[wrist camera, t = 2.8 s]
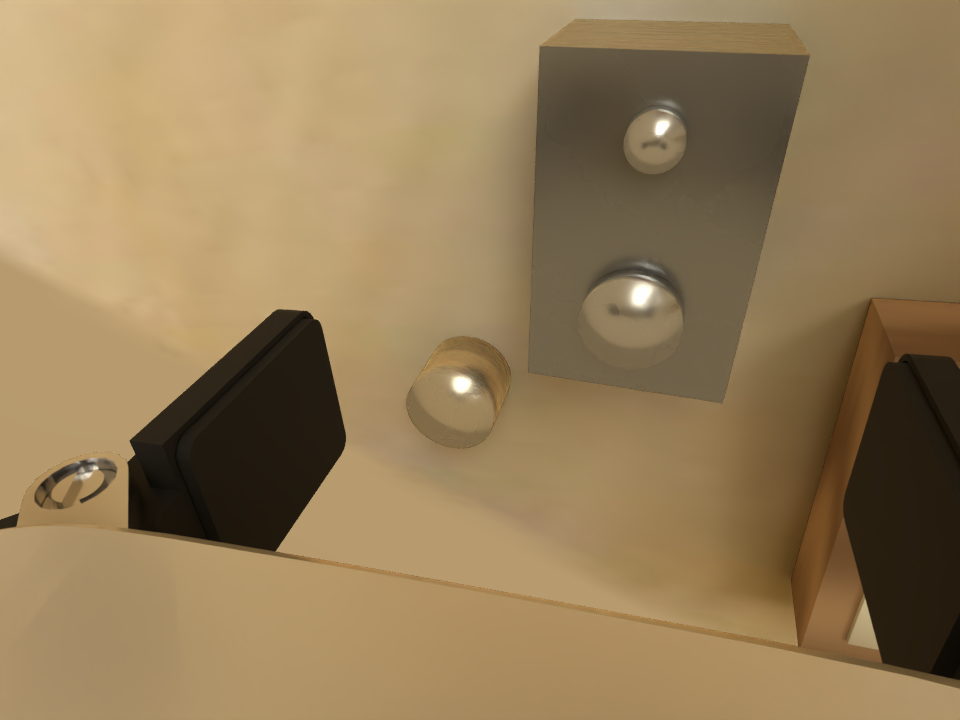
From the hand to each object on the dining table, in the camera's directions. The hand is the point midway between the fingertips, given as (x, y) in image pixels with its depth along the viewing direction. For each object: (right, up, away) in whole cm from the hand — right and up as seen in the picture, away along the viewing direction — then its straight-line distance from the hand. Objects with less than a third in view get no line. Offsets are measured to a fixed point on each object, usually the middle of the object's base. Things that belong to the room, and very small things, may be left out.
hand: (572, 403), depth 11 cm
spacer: (-2, 0, +12) cm, 13 cm away
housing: (+3, +6, +7) cm, 10 cm away
